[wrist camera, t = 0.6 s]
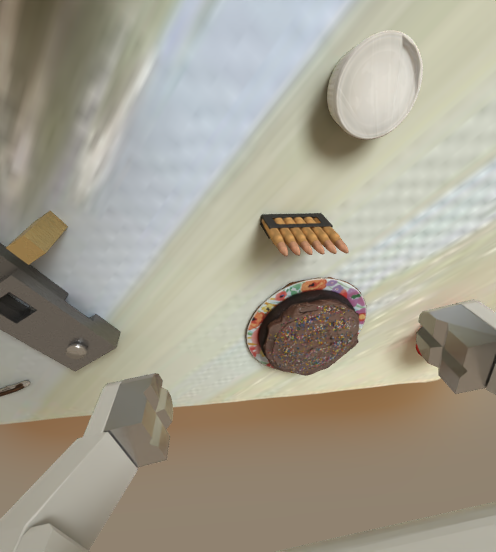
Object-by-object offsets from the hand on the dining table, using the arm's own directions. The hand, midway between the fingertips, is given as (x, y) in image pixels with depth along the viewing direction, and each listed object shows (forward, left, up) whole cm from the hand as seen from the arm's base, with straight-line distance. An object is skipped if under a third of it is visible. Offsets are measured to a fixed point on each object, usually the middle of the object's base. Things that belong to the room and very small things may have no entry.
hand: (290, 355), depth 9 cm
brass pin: (-3, -26, -37) cm, 45 cm away
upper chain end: (+9, -39, -37) cm, 55 cm away
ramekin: (+5, +21, -38) cm, 43 cm away
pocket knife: (+16, -63, -38) cm, 75 cm away
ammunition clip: (+17, +5, -37) cm, 41 cm away
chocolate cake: (+43, -3, -38) cm, 57 cm away
